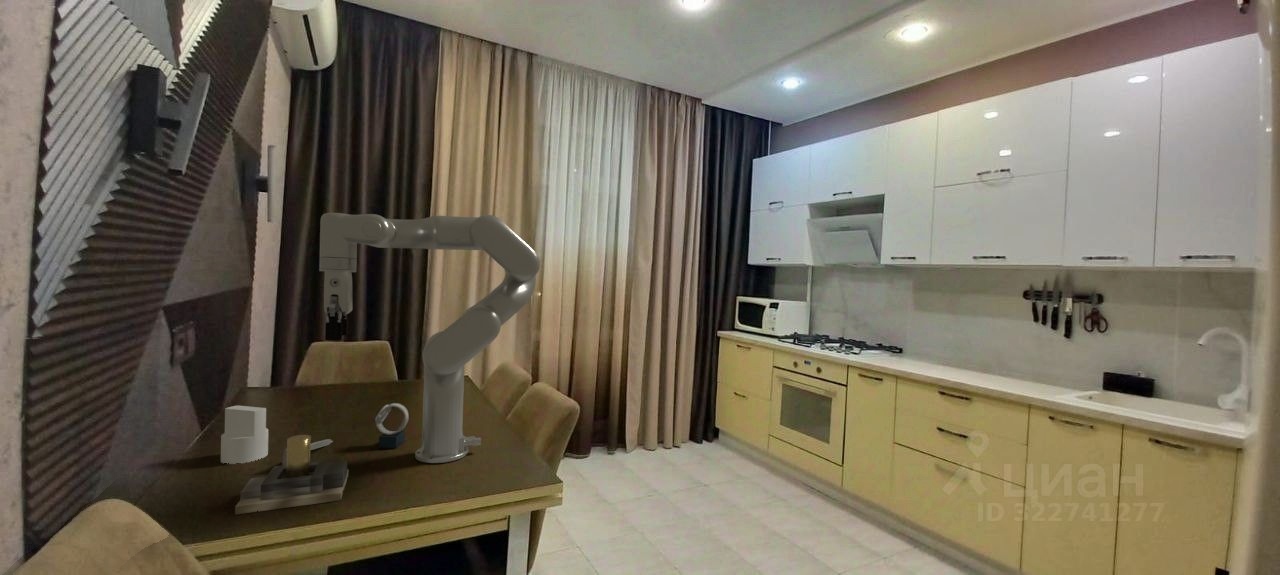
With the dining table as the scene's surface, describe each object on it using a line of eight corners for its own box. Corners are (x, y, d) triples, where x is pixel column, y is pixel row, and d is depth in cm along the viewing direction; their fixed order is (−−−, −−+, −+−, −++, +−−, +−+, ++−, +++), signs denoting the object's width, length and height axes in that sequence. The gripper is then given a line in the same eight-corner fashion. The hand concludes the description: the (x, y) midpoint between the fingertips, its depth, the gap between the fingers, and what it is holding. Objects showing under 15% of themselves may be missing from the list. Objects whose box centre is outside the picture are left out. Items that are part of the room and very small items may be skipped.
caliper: (287, 472, 112) (288, 445, 112) (282, 472, 112) (282, 445, 112) (333, 442, 132) (333, 419, 132) (328, 442, 132) (329, 419, 132)
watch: (380, 441, 134) (381, 401, 134) (410, 441, 134) (412, 401, 134) (370, 448, 128) (371, 406, 128) (402, 448, 129) (403, 407, 129)
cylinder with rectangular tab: (277, 452, 123) (278, 405, 123) (242, 465, 114) (243, 414, 114) (247, 449, 125) (247, 402, 125) (210, 462, 116) (211, 411, 116)
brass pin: (311, 480, 104) (312, 434, 104) (307, 488, 100) (308, 440, 100) (288, 483, 102) (289, 435, 102) (283, 491, 99) (285, 442, 98)
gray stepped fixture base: (348, 475, 111) (348, 456, 111) (340, 500, 99) (341, 478, 99) (255, 487, 103) (255, 465, 103) (235, 514, 92) (235, 490, 92)
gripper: (352, 266, 110) (350, 342, 110) (359, 266, 126) (358, 333, 126) (312, 264, 107) (311, 342, 107) (325, 265, 123) (323, 333, 123)
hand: (336, 337), depth 117 cm, fingers open, 9 cm apart
